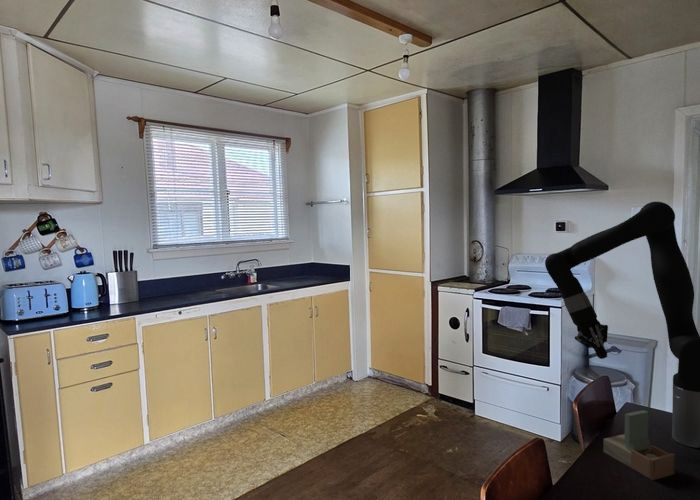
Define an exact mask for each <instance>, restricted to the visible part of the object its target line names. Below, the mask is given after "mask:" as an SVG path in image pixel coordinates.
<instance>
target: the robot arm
mask: <svg viewBox="0 0 700 500" xmlns="http://www.w3.org/2000/svg"><path fill="white" fill-rule="evenodd" d="M675 220H676V214H675V211H674V209H673V208H672V207H671V206H670V205H669V204H667V203H665V202H662V201H651V202H648V203H646V204H645V205H643V206H642V207H641V208H640V210H639V211H638V212H637V213H635V214H634V215H633V216H631V217H629V218H628V219H627V220H624V221H623V222H620V223H619V224H616V225H615V226H612V227H610V228H606V229H605V230H602V231H599V232H596V233H594V234H592V235H590V236H587V237H586V238H583V239H581V240H579V241H577V242H575V243H574V244H573V245H571V246H570V247H568V248H565V249H563V250H561V251H558V252H555V253H551V254H549V255H548V256H547V257H546V259H545V261H544V266H545V270H546V271H547V273H548V275H549V276H550V277H551V279H552V281H553V282H554V284H555V285H556V287H557V289H558V292H559V293H560V295H561V298H562V299H563V303H564V306H565V307H566V310H567V312H568V315H569V316H570V319H571V320H572V322H573V324H574V325H575V326H576V330H577V335H575V336H574V340H575V341H577V342H578V343H579V344H581V345H582V346H584V347H585V348H587V349H593V350H594V352H595V355H596V357H597V358H598V359H600V360H601V359H602V360H604V359H606V358H607V357H608V352H607V350H606V348H605V346H604V345H605V343H607V341H608V335H609V334H608V331H609V326H608V325H607V324H602V323H601V322H600V321H599V319H598V315H597V313H596V311H595V308H594V307H593V305H592V302H591V301H590V299H589V297H588V296H587V294H586V292H585V291H584V289H583V286H582V284H581V282H580V281H579V280H578V278H576V277H575V276H574V273H573V271H572V270H571V269H574V268H575V267H577V266H579V265H581V264H582V263H586V262H589V261H591V260H593V259H595V258H598V257H600V256H602V255H604V254H606V253H608V252H611V251H613V250H614V249H616V248H619V247H620V246H622V245H624V244H627V243H629V242H632V241H634V240H637V239H641V238H643V237H645V238H646V241H647V243H648V247H649V252H650V264H651V271H652V277H653V281H654V284H655V288H656V292H657V297H658V299H659V303H660V306H661V309H662V313H663V315H664V319H665V324H666V329H667V337H668V339H667V340H668V345H669V349H670V352H671V354H672V355H673V356H674V357H675V358H676V359H677V360H678V363H677V368H678V369H677V373H674V374H673V376H672V410H671V411H672V412H671V413H672V414H671V419H672V420H671V438H672V439H673V440H674V441H676V442H677V443H678V444H682V445H683V446H687V447H691V448H696V449H700V333H699V332H698V331H699V330H698V329H697V326H696V323H695V320H694V313H693V309H694V304H695V303H694V302H695V301H694V300H695V288H694V285H693V284H694V283H693V279H692V275H691V273H690V269H689V267H688V264H687V262H686V259H685V257H684V255H683V253H682V250H681V248H680V246H679V243H678V240H677V239H678V238H677V234H676V228H675Z"/></svg>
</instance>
